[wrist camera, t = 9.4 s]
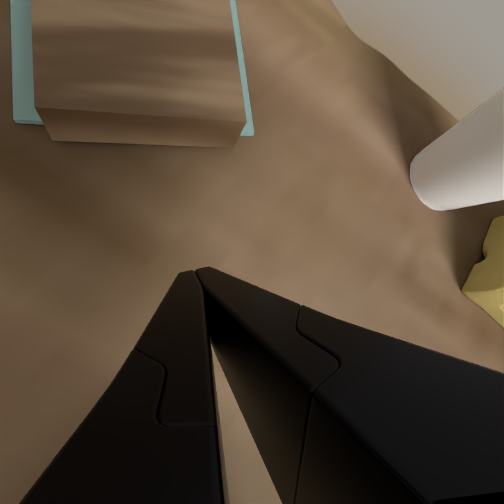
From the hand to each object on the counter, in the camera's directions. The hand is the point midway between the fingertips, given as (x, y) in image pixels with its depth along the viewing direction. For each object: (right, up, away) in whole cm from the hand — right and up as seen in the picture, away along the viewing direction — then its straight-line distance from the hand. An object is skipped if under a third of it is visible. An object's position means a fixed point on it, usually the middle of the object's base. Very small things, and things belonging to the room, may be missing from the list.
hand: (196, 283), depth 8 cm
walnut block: (-5, +9, +12) cm, 16 cm away
